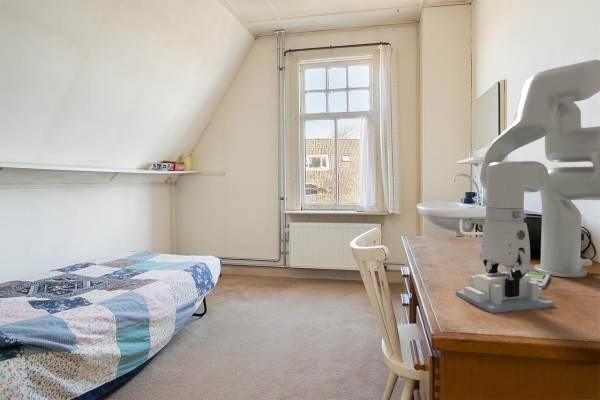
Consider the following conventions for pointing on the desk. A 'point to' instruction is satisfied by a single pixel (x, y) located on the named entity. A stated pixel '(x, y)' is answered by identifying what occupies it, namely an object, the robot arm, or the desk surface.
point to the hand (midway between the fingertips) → (502, 291)
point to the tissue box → (486, 280)
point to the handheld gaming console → (539, 278)
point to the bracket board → (500, 305)
